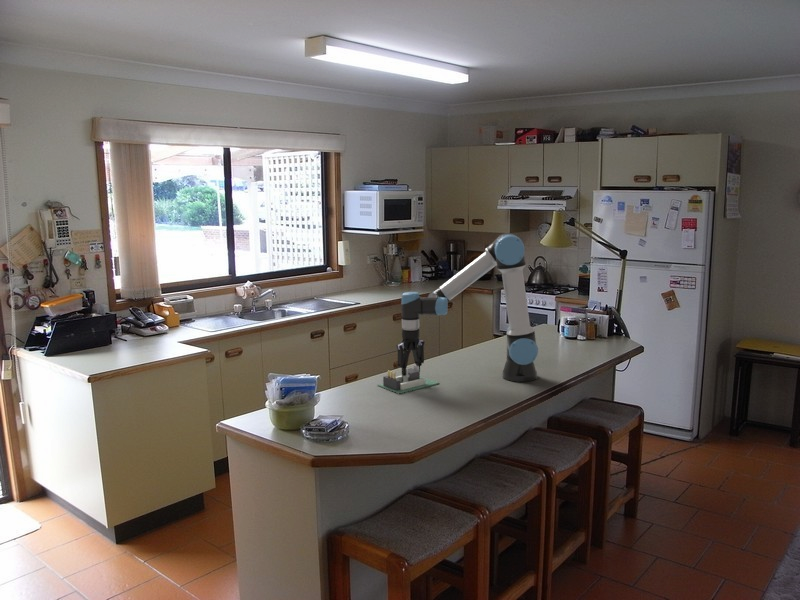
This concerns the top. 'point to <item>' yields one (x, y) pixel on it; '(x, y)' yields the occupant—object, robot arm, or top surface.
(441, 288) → the robot arm
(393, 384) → the header board
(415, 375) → the plug
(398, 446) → the top surface
